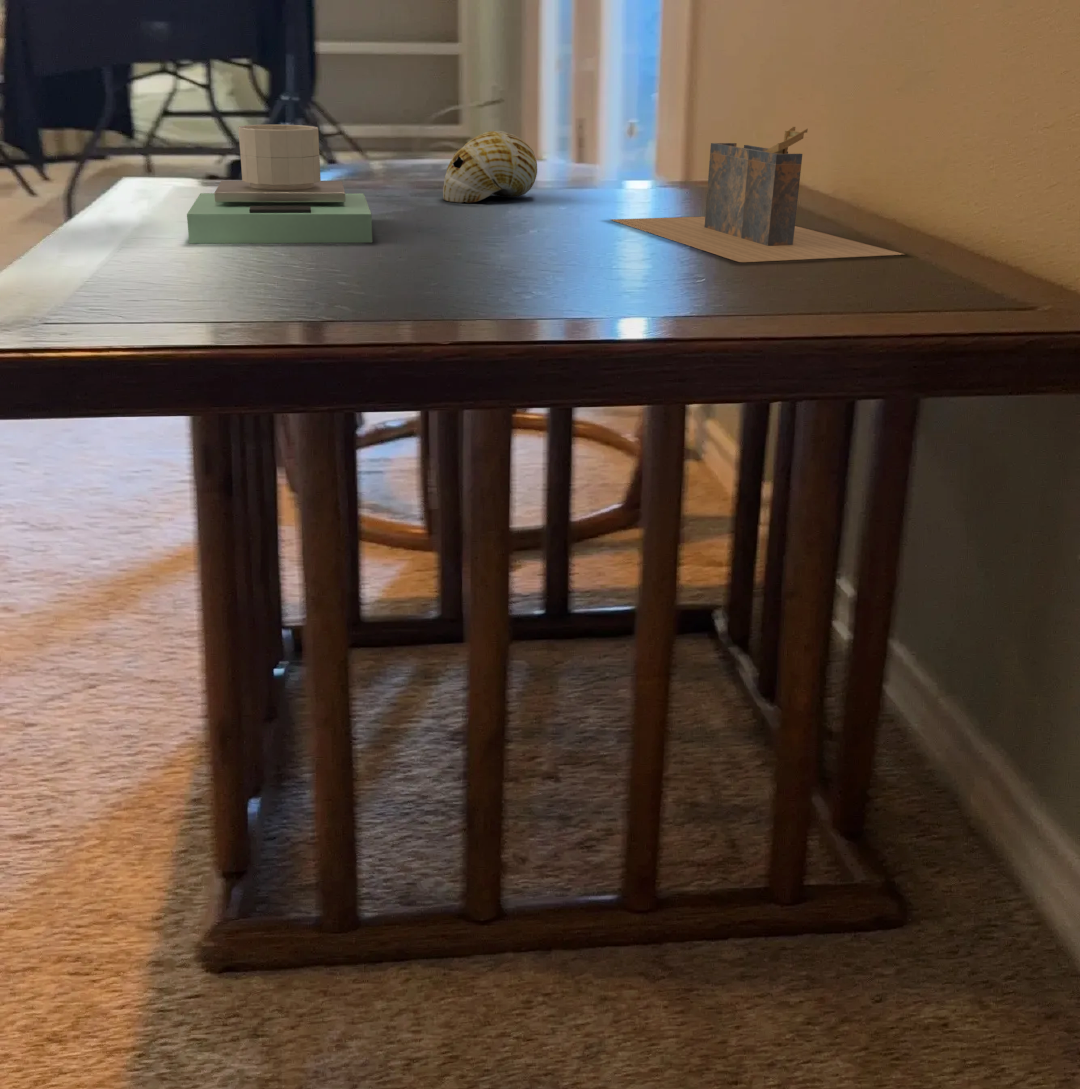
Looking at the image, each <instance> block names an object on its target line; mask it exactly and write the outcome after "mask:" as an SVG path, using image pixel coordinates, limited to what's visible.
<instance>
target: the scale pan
mask: <svg viewBox="0 0 1080 1089" xmlns="http://www.w3.org/2000/svg"><path fill="white" fill-rule="evenodd" d="M213 193H214V195H215V202H345V194H346V191H345V187H344V184H343V181H342V180H321V181H320V182H316V183H314V187H312V188H308V189H300V190H265V189H256V188H252V187H250V183H247V182H244V181H242V180H221V181H220V182H219V184H218V186H217V187H216V189H215V192H213Z"/></svg>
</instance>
